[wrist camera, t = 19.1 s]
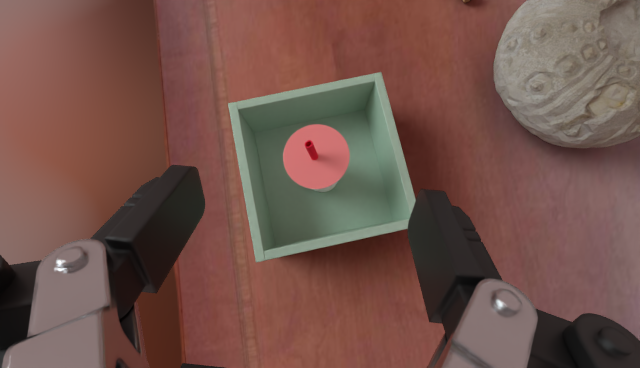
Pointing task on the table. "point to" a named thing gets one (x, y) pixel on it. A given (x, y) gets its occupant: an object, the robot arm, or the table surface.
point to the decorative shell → (573, 70)
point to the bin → (352, 188)
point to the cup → (316, 157)
